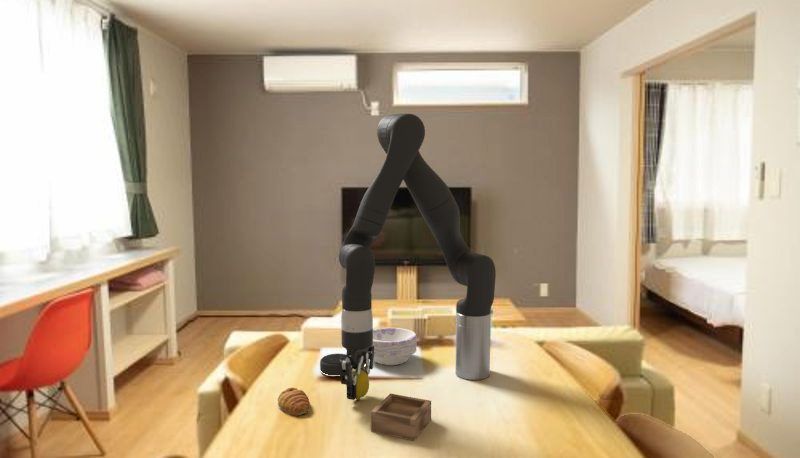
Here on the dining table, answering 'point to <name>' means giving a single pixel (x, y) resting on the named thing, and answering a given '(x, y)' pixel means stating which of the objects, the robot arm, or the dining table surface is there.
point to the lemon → (361, 384)
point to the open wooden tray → (401, 416)
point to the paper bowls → (393, 345)
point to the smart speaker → (331, 363)
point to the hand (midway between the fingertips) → (357, 393)
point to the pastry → (294, 401)
